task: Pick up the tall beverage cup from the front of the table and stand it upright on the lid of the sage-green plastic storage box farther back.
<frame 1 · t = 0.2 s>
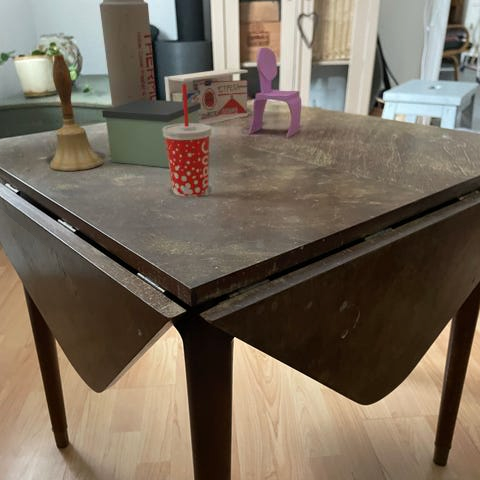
toy chair: (274, 134, 106), on the table
beverage cup: (191, 199, 72), on the table
hand bell: (76, 165, 88), on the table
cigarette display: (211, 120, 118), on the table
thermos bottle: (138, 142, 101), on the table
storage box: (157, 156, 91), on the table
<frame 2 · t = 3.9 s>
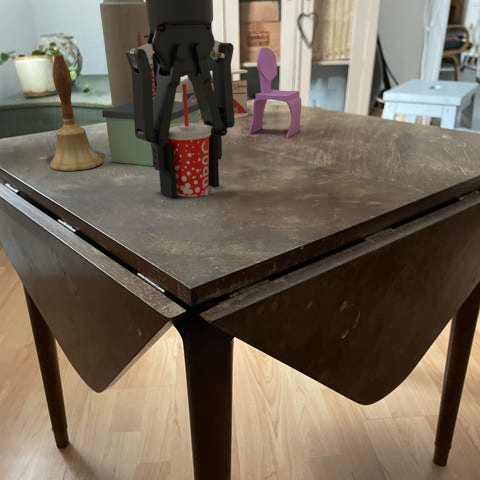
hand: (190, 189, 71), 1 cm above the table, tool pointing down, fingers closed on beverage cup, 6 cm apart
beverage cup: (191, 199, 72), on the table, touching gripper
everything else where it was.
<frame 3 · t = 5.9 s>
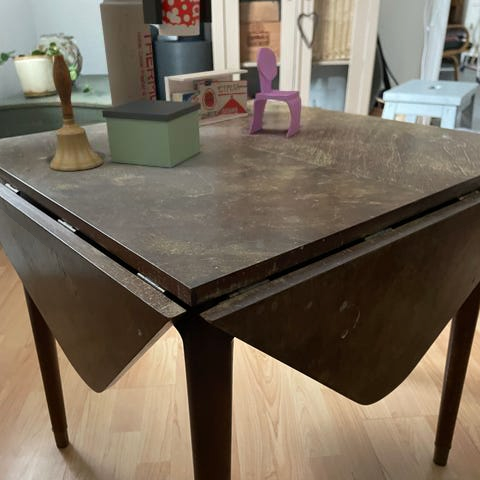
hand: (178, 22, 62), 20 cm above the table, tool pointing down, fingers closed on beverage cup, 6 cm apart
beverage cup: (179, 36, 62), point 19 cm above the table, touching gripper
everything else where it was.
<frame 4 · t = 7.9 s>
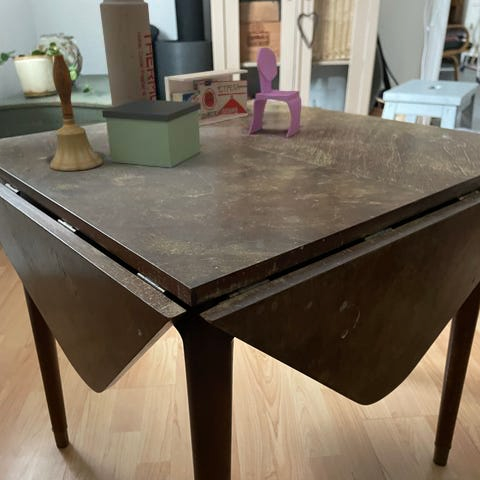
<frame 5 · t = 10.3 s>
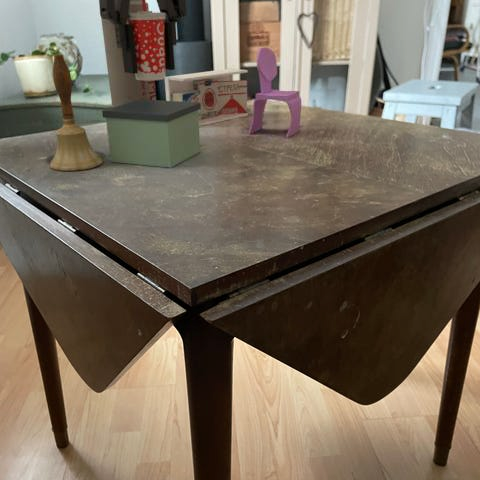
hand: (149, 70, 84), 13 cm above the table, tool pointing down, fingers closed on beverage cup, 6 cm apart
beverage cup: (150, 80, 85), point 12 cm above the table, touching gripper
everything else where it was.
when the fingers open (9 cm above the table, at t = 11.8 s): beverage cup stays where it is, resting on storage box.
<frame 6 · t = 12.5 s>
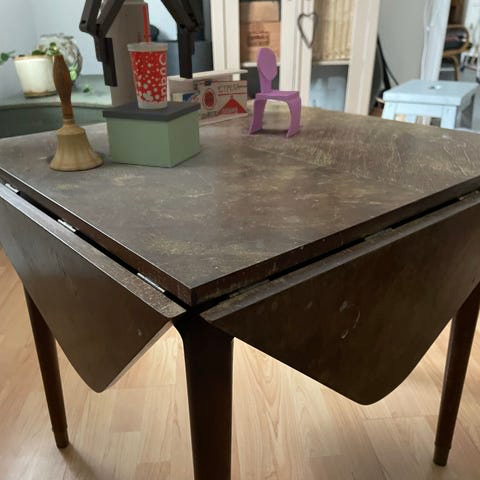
hand: (150, 82, 85), 12 cm above the table, tool pointing down, fingers open, 13 cm apart
beverage cup: (153, 107, 87), point 8 cm above the table, touching storage box
everything else where it was.
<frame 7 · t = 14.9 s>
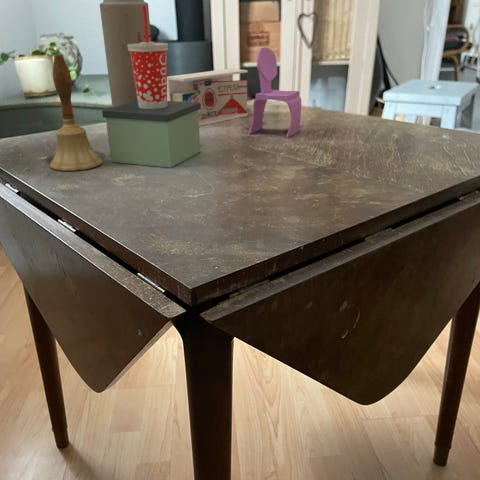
nothing on the table moved.
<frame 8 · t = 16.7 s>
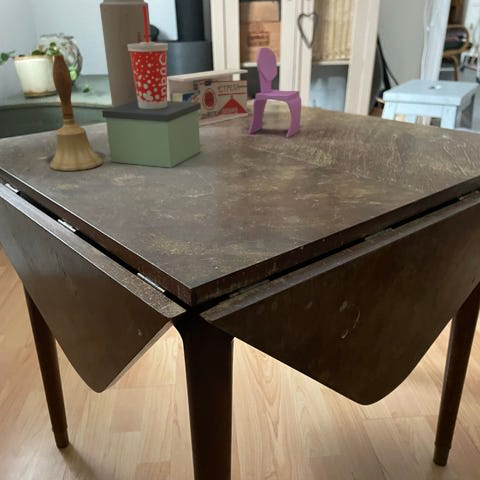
nothing on the table moved.
at the end: beverage cup inside the target area on the storage box (0.0 cm from its centre), point 7.8 cm above the storage box's base; beverage cup tilted 0° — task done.
